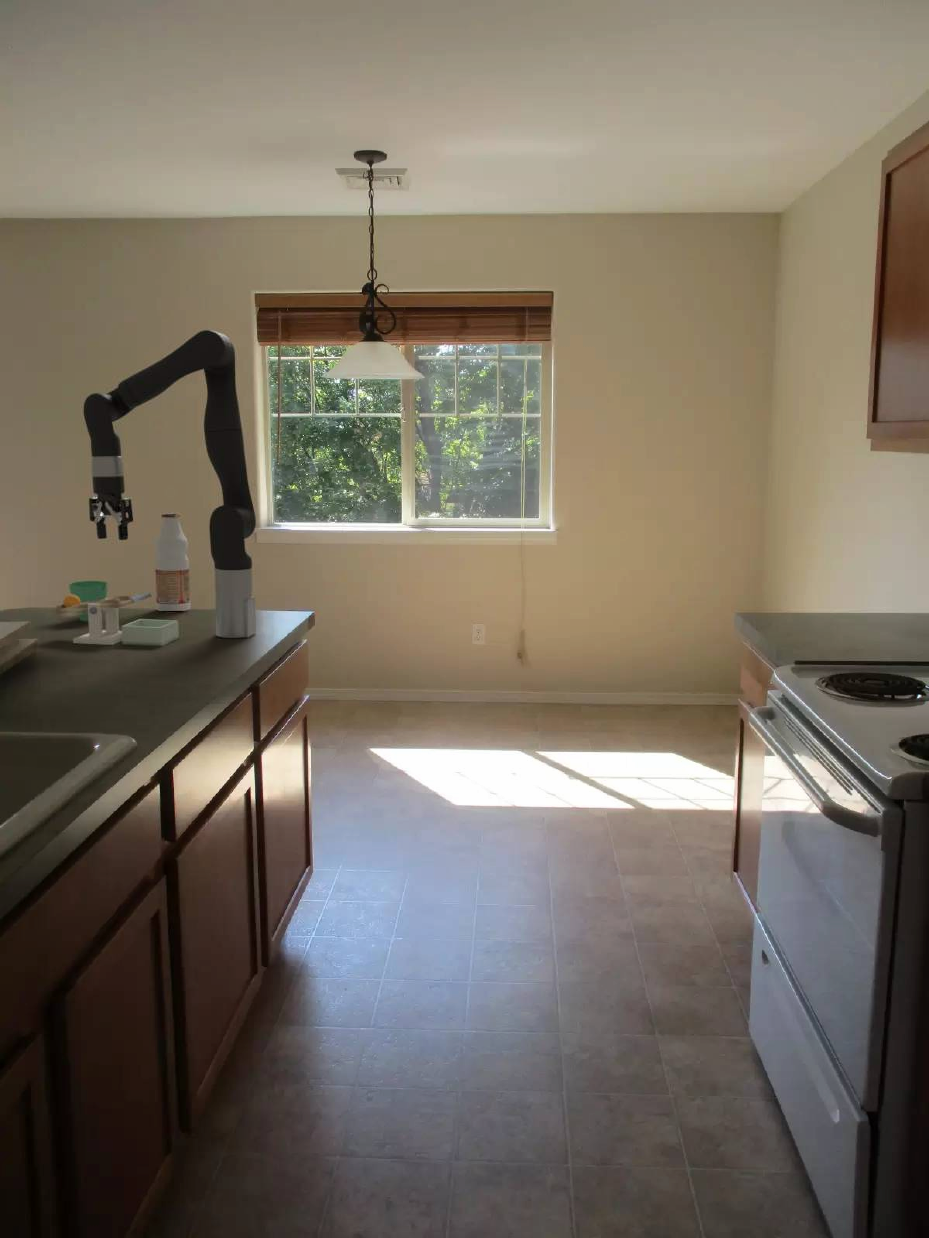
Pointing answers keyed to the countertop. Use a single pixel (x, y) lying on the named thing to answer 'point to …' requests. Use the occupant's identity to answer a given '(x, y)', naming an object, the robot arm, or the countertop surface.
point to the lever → (105, 603)
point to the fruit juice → (172, 566)
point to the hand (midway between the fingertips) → (112, 539)
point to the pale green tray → (150, 632)
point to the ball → (71, 601)
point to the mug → (88, 592)
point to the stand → (95, 627)
